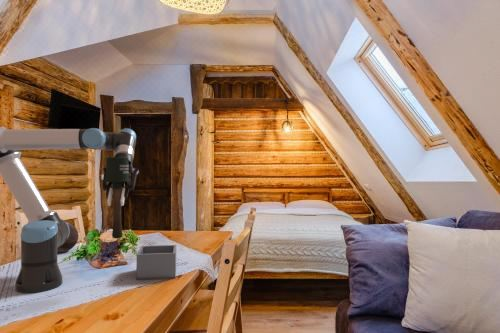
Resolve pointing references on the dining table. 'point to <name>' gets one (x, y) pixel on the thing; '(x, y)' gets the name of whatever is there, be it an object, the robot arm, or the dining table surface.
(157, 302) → the dining table surface
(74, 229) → the wooden sphere
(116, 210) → the stick grenade
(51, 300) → the dining table surface
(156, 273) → the bin
